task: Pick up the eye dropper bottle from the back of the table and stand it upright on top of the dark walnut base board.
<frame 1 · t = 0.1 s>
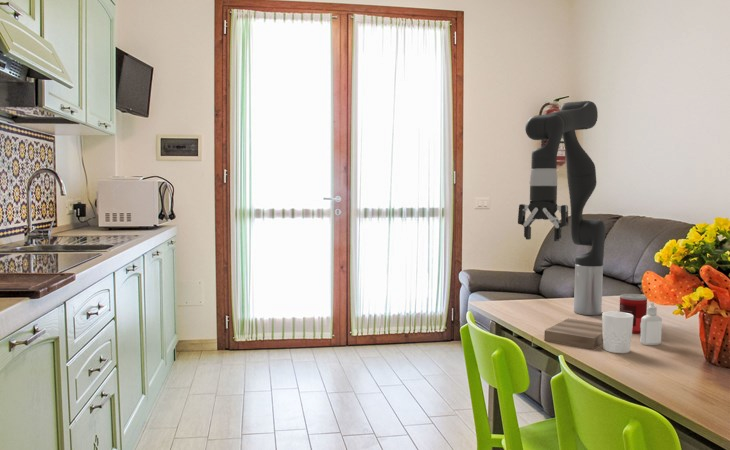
hand: (542, 240, 167), 29 cm above the table, fingers open, 8 cm apart
walnut base board: (579, 337, 170), on the table
white cup: (616, 350, 157), on the table
eye dropper bottle: (650, 344, 164), on the table
canned food: (632, 331, 179), on the table
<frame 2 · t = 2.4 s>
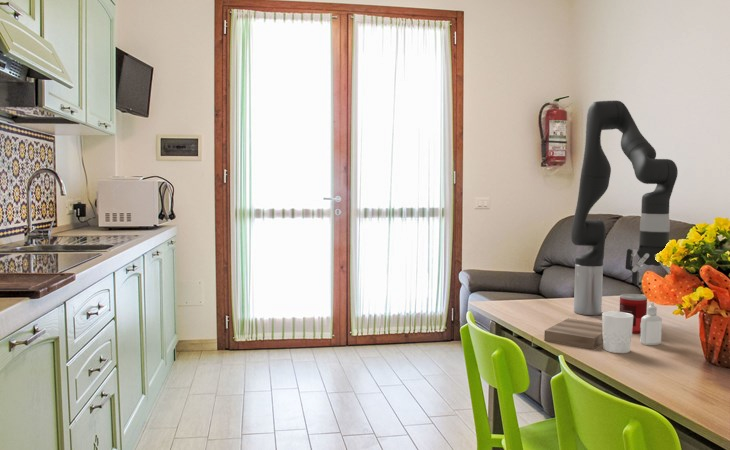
hand: (652, 286, 162), 17 cm above the table, fingers open, 8 cm apart
nothing on the table moved.
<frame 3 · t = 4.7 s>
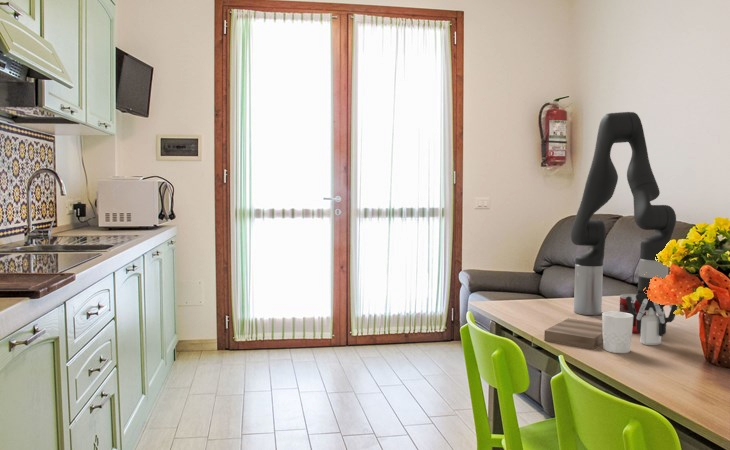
hand: (650, 333, 163), 3 cm above the table, fingers closed on eye dropper bottle, 4 cm apart
eye dropper bottle: (650, 344, 164), on the table, touching gripper
everything else where it was.
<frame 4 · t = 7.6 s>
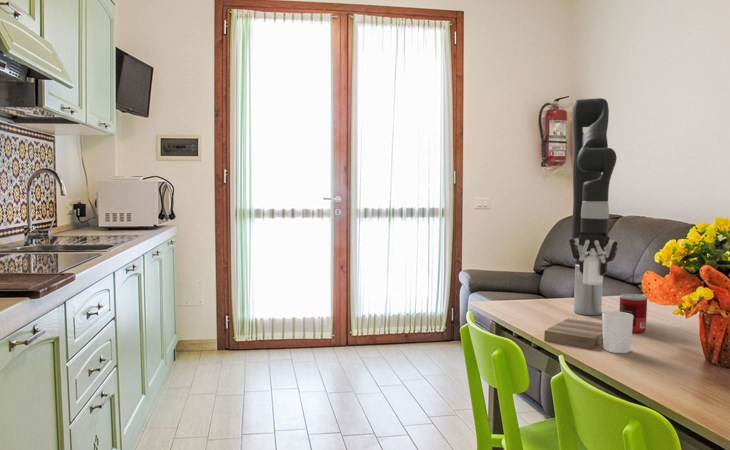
hand: (592, 274, 168), 19 cm above the table, fingers closed on eye dropper bottle, 4 cm apart
eye dropper bottle: (592, 284, 168), point 16 cm above the table, touching gripper
everything else where it was.
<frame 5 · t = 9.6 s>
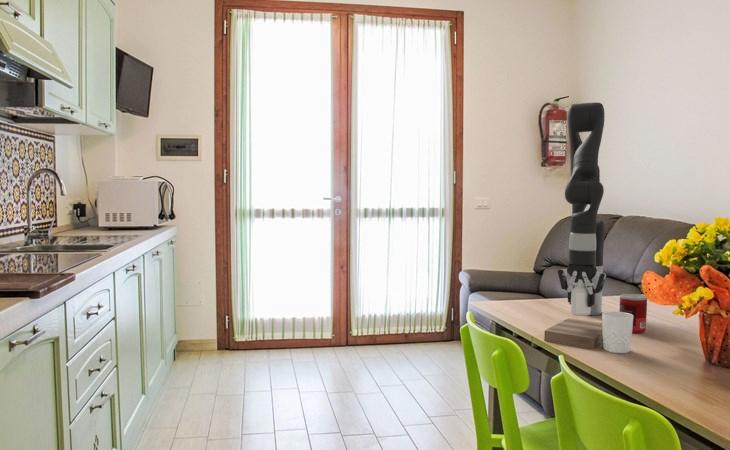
hand: (580, 305, 169), 10 cm above the table, fingers closed on eye dropper bottle, 4 cm apart
eye dropper bottle: (580, 315, 170), point 7 cm above the table, touching gripper
everything else where it was.
when the fingers open (8 cm above the table, at t = 10.9 s): eye dropper bottle drops 2 cm, resting on walnut base board.
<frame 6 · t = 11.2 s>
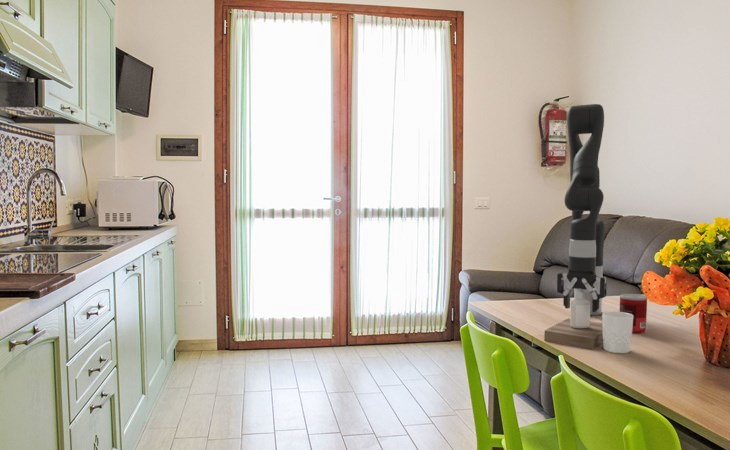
hand: (580, 309, 169), 8 cm above the table, fingers open, 7 cm apart
eye dropper bottle: (579, 327, 170), point 3 cm above the table, touching walnut base board
everything else where it was.
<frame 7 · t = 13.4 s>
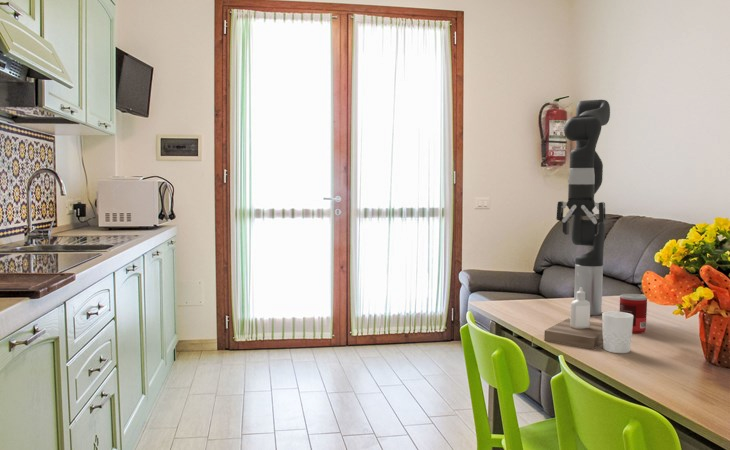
hand: (580, 235, 177), 30 cm above the table, fingers open, 8 cm apart
nothing on the table moved.
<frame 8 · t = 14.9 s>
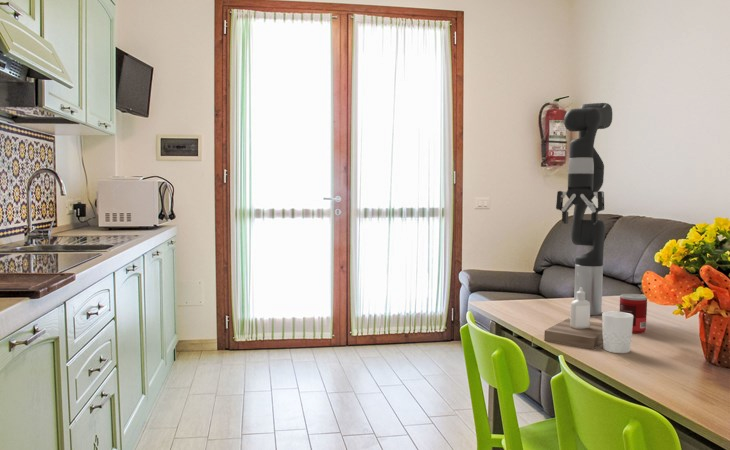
hand: (579, 224, 180), 33 cm above the table, fingers open, 8 cm apart
nothing on the table moved.
at the end: eye dropper bottle inside the target area on the walnut base board (0.1 cm from its centre), point 2.8 cm above the walnut base board's base; eye dropper bottle tilted 0°; the gripper is holding nothing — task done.
